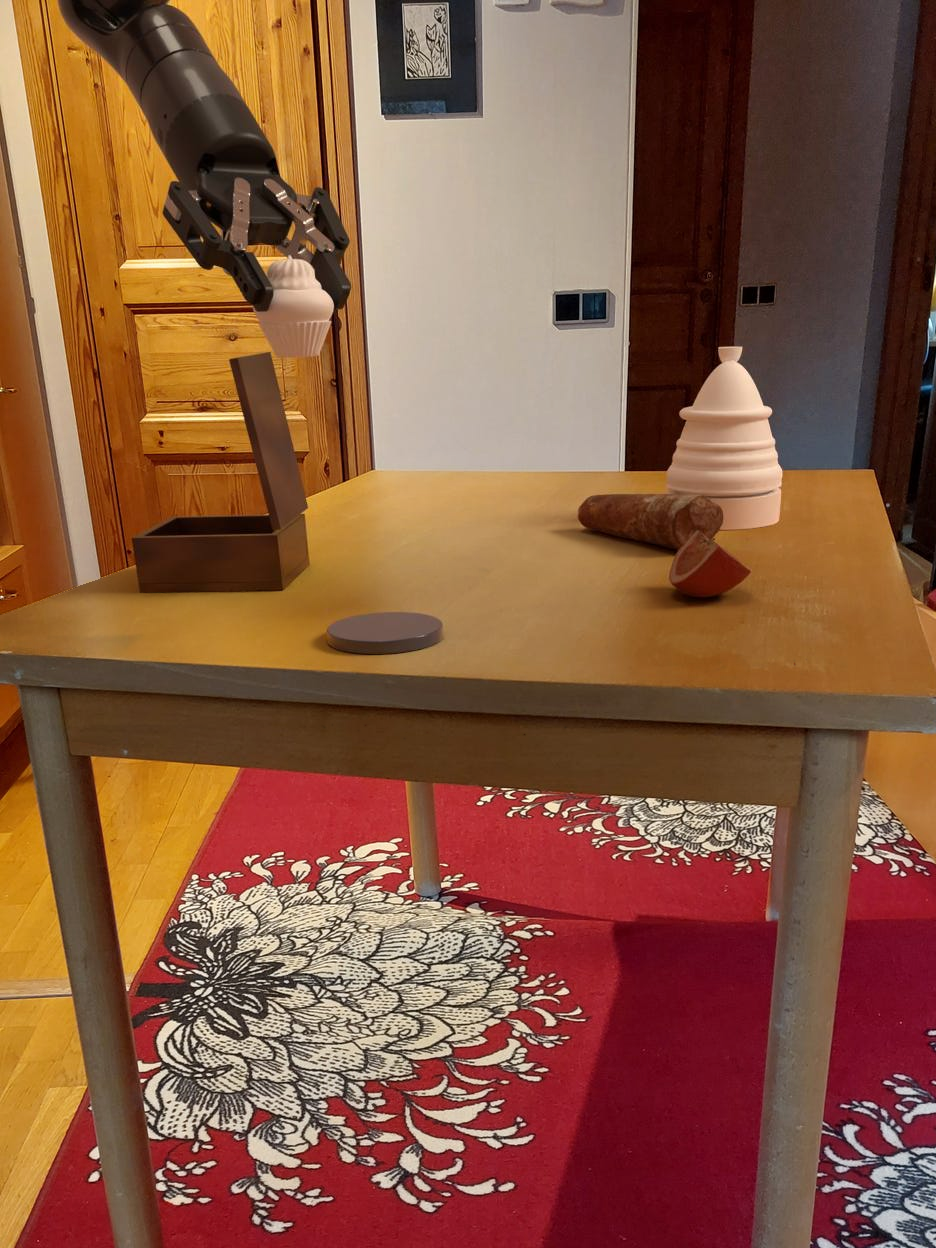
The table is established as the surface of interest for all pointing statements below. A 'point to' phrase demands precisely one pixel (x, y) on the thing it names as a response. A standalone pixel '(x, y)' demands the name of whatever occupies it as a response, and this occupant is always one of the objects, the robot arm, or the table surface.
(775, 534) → the table surface
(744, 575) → the fruit slice
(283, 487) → the lid
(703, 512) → the brown cylinder
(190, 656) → the table surface
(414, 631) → the plate
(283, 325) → the muffin
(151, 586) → the chest
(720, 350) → the honey pot
